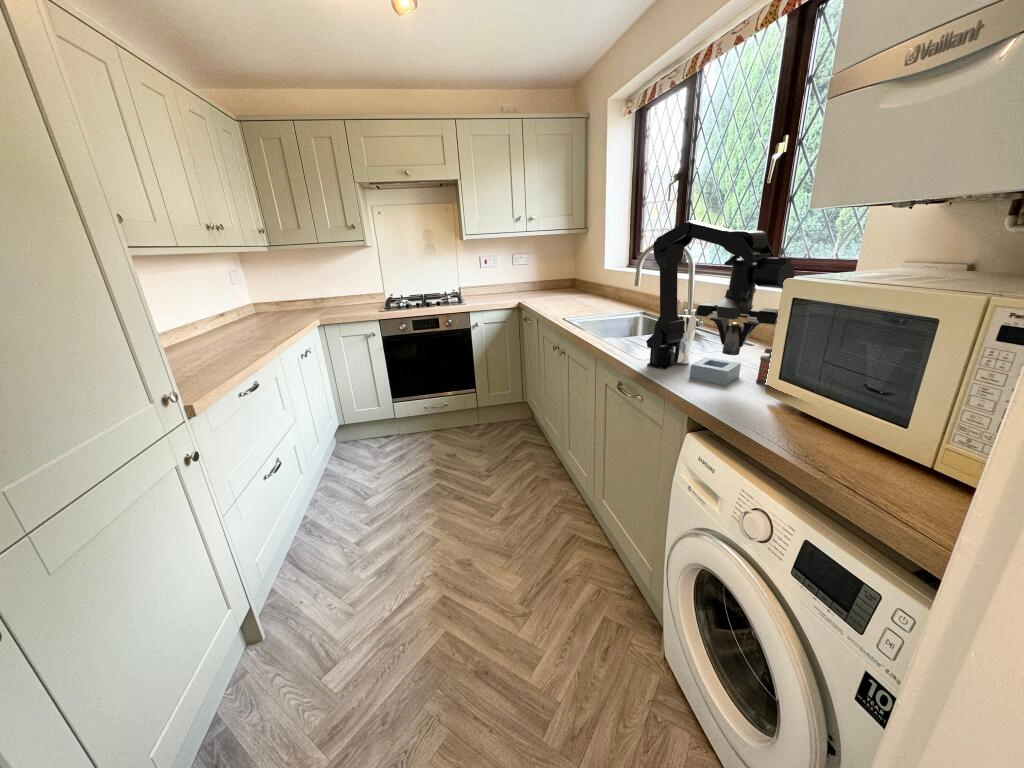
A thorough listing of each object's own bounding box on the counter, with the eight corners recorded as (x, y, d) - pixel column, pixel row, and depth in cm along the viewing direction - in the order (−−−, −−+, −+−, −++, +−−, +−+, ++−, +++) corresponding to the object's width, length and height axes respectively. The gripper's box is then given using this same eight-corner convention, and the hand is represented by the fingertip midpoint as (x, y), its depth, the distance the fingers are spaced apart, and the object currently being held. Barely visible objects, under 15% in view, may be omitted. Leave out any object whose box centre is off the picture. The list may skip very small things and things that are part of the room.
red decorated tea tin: (790, 384, 107) (798, 349, 104) (790, 388, 104) (798, 352, 101) (756, 380, 111) (762, 345, 108) (755, 383, 109) (761, 348, 105)
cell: (719, 353, 104) (724, 323, 101) (725, 350, 107) (730, 321, 104) (735, 356, 101) (741, 325, 99) (741, 352, 104) (747, 322, 101)
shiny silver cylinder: (687, 360, 132) (693, 315, 129) (693, 364, 125) (700, 316, 122) (665, 359, 133) (671, 314, 129) (671, 363, 126) (676, 315, 123)
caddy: (689, 377, 115) (691, 364, 114) (703, 369, 122) (705, 357, 120) (725, 385, 108) (727, 371, 107) (738, 376, 115) (741, 363, 113)
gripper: (690, 285, 99) (682, 345, 105) (774, 291, 86) (761, 359, 92) (709, 281, 106) (701, 337, 112) (789, 286, 93) (776, 349, 99)
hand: (731, 345), depth 103 cm, fingers closed on cell, 4 cm apart
